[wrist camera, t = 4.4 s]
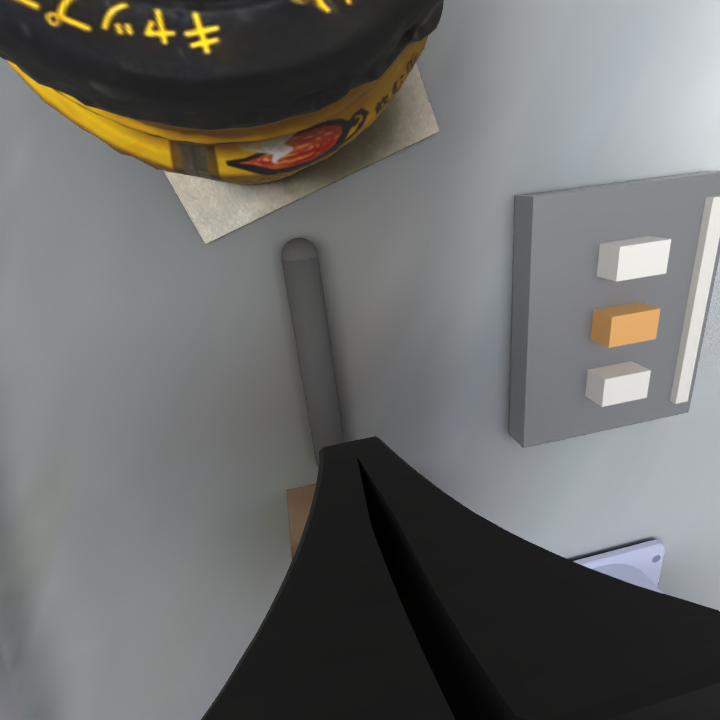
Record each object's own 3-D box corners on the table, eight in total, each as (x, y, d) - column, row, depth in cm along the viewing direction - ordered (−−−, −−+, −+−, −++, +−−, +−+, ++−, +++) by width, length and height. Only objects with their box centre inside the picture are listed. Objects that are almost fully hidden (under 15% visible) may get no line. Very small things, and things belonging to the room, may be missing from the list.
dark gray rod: (345, 460, 19) (350, 477, 18) (316, 466, 19) (320, 483, 17) (313, 234, 15) (317, 238, 14) (277, 238, 15) (279, 242, 14)
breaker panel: (666, 400, 21) (708, 422, 19) (508, 433, 20) (536, 461, 18) (706, 171, 17) (764, 169, 15) (515, 195, 16) (550, 197, 14)
